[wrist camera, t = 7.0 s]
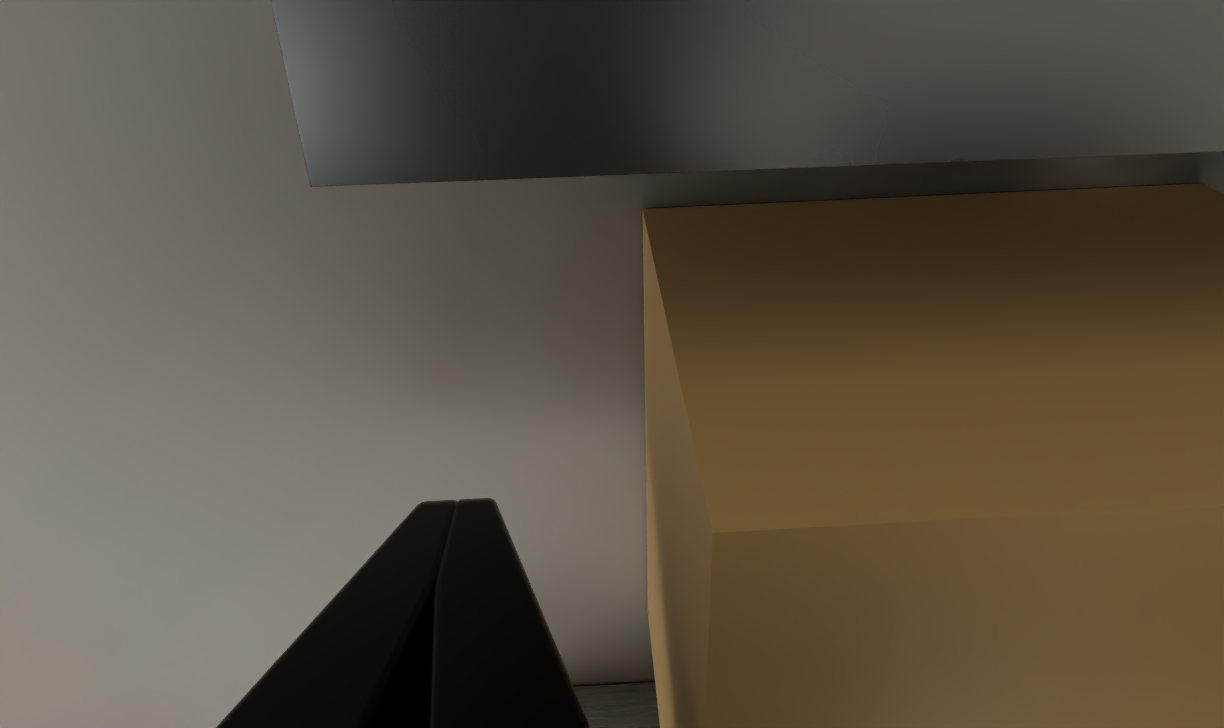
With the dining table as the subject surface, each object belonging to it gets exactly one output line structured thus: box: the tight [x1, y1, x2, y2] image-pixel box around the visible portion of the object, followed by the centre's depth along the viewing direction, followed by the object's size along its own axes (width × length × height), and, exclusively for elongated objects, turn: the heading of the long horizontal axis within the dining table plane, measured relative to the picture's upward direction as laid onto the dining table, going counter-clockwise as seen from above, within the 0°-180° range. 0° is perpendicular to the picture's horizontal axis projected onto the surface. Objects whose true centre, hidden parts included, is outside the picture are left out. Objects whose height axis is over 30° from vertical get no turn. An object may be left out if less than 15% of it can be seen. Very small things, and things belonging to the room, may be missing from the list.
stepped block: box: [642, 183, 1224, 728], centre depth 8 cm, size 6×6×6 cm
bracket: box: [271, 0, 1224, 728], centre depth 9 cm, size 11×11×4 cm
